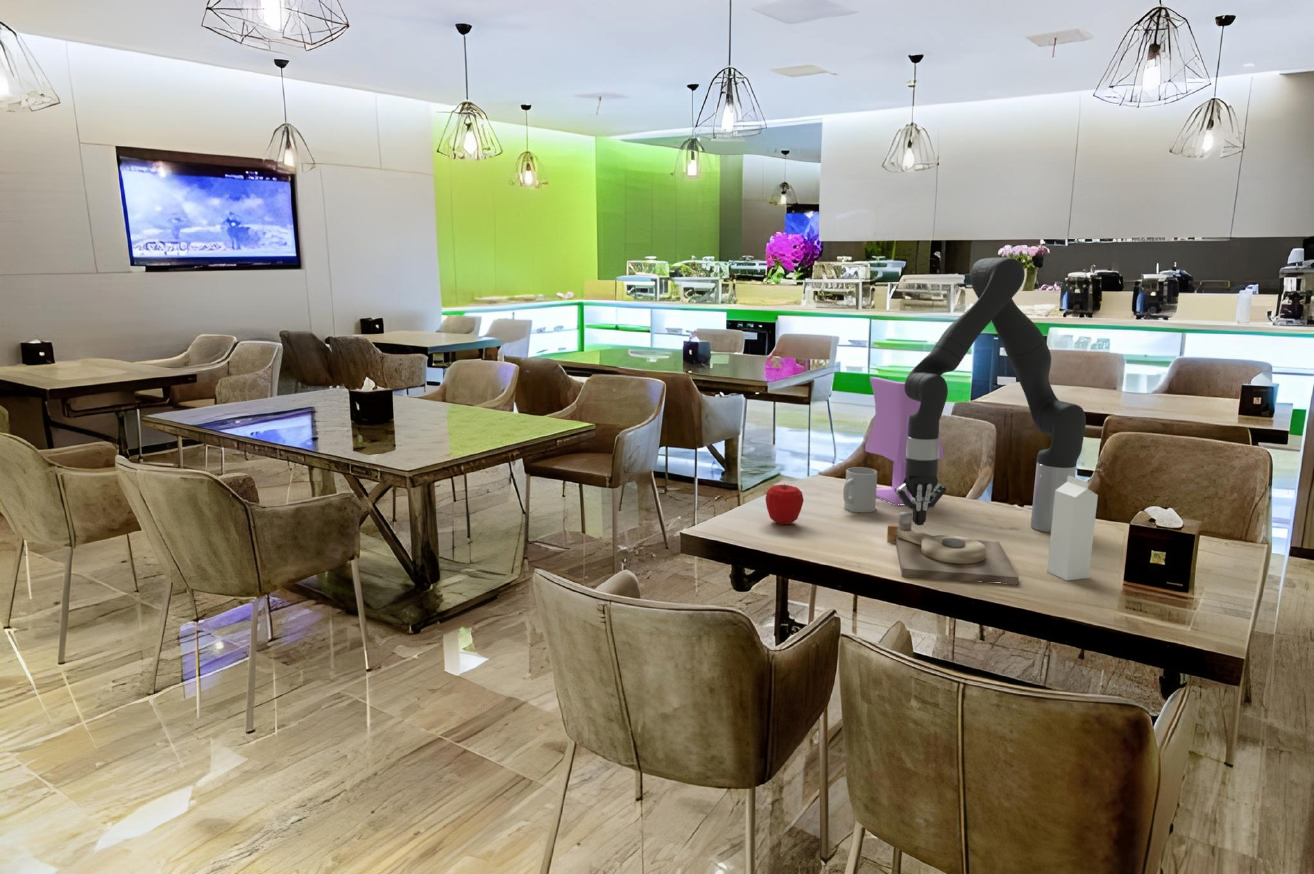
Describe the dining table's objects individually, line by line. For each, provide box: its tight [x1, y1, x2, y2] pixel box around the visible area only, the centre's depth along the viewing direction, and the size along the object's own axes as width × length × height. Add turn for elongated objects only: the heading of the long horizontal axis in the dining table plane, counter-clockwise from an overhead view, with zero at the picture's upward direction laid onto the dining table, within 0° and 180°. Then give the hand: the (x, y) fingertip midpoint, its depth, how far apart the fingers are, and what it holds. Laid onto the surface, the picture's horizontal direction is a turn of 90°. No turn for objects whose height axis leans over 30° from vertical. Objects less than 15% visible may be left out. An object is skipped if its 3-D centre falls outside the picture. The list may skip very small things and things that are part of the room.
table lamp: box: [864, 376, 945, 506], centre depth 245 cm, size 16×16×35 cm
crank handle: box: [897, 511, 986, 564], centre depth 198 cm, size 22×14×6 cm, turn 35°
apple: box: [765, 483, 805, 525], centre depth 222 cm, size 10×10×11 cm
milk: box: [1046, 476, 1099, 581], centre depth 185 cm, size 6×6×22 cm
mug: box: [842, 466, 878, 513], centre depth 235 cm, size 12×8×11 cm
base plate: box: [886, 522, 1019, 585], centre depth 196 cm, size 26×26×4 cm
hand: (918, 524), depth 207 cm, fingers closed
